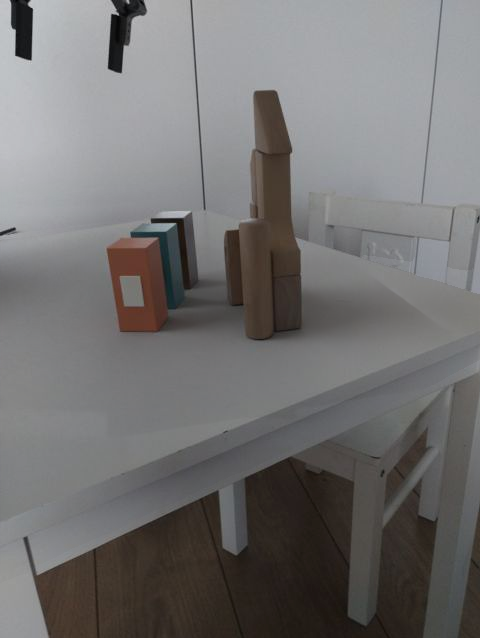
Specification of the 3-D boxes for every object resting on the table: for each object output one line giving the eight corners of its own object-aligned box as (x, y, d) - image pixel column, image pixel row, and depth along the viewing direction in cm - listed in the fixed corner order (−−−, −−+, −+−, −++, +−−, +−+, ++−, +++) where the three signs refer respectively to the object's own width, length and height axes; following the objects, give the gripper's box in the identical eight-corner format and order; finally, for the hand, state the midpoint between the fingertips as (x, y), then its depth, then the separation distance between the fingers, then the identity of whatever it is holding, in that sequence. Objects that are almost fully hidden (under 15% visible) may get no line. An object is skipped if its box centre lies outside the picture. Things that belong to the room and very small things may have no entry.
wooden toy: (224, 297, 76) (209, 92, 66) (273, 291, 78) (265, 89, 67) (248, 342, 63) (233, 92, 52) (307, 334, 64) (303, 88, 53)
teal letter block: (152, 296, 78) (142, 223, 74) (184, 296, 77) (176, 223, 73) (140, 309, 74) (129, 232, 69) (175, 309, 73) (165, 231, 69)
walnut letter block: (168, 278, 85) (160, 211, 81) (198, 279, 84) (192, 210, 80) (158, 289, 81) (149, 218, 76) (190, 289, 80) (183, 218, 76)
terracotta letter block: (133, 316, 71) (121, 237, 67) (168, 317, 71) (158, 237, 66) (119, 331, 67) (105, 248, 63) (156, 332, 66) (145, 248, 62)
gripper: (181, -99, 73) (164, 81, 79) (6, -115, 77) (3, 58, 83) (159, -130, 66) (142, 71, 72) (-33, -145, 70) (-32, 46, 76)
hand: (68, 65), depth 78 cm, fingers open, 13 cm apart
